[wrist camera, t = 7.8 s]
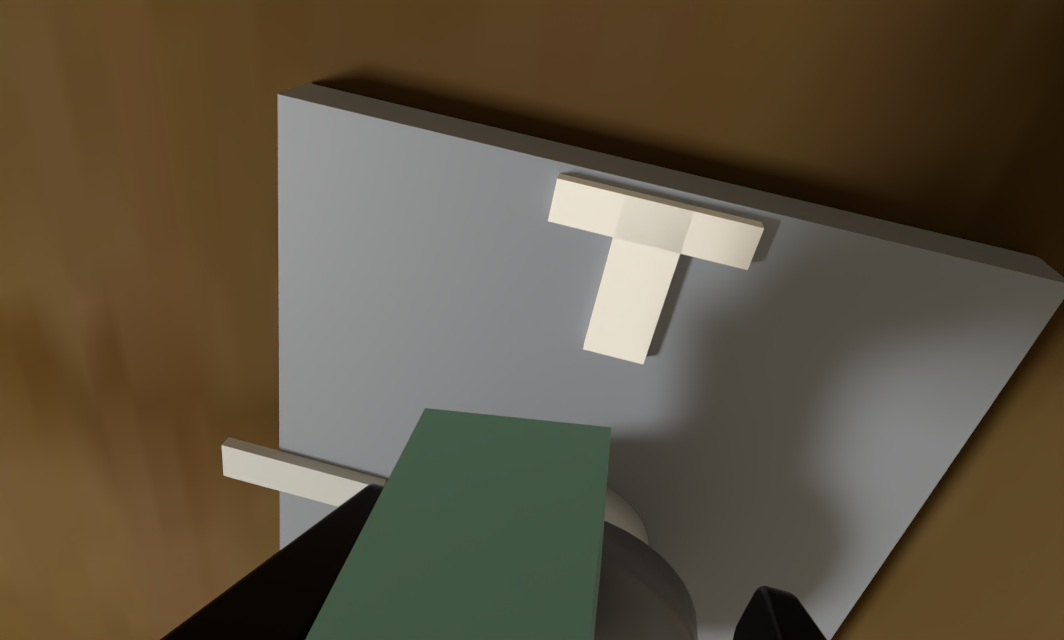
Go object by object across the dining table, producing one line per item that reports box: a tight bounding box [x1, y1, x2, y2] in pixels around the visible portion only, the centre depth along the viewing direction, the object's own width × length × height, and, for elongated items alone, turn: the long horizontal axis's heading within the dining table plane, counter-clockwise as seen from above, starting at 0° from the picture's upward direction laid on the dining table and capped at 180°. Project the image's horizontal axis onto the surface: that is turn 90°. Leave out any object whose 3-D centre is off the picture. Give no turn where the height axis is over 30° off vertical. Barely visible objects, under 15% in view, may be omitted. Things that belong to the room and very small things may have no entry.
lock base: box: [222, 83, 1064, 640], centre depth 16 cm, size 18×15×3 cm
